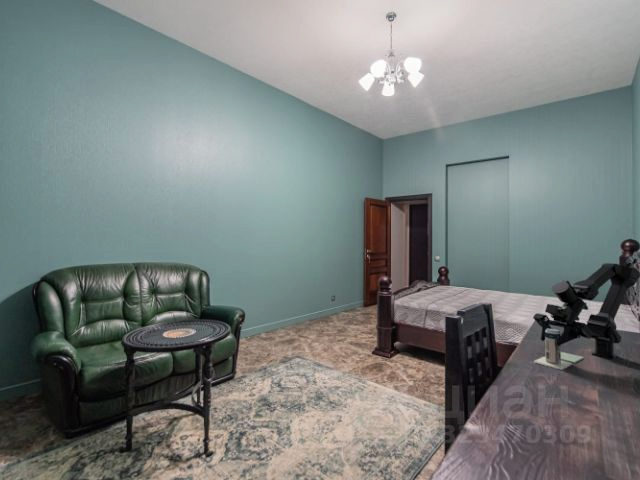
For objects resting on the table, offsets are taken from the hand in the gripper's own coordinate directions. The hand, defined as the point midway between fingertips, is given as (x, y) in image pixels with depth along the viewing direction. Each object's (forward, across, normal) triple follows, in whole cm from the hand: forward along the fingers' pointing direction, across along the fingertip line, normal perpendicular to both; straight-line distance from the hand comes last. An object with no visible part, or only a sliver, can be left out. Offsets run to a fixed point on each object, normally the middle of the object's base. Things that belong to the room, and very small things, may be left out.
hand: (549, 342), depth 118 cm
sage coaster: (-3, -3, +14) cm, 15 cm away
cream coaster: (+5, 0, +7) cm, 8 cm away
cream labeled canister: (+4, 0, +6) cm, 8 cm away
